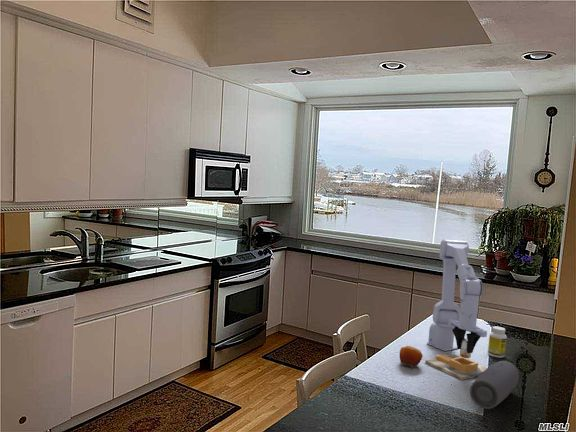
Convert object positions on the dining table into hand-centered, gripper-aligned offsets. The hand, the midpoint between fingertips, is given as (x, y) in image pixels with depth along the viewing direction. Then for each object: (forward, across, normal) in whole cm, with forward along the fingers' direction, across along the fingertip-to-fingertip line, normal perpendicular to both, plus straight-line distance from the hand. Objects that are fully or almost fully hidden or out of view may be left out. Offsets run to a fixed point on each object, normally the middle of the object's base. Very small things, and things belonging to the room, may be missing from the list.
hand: (464, 350), depth 168 cm
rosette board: (+8, -3, +1) cm, 8 cm away
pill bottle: (+8, -5, +27) cm, 29 cm away
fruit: (+8, -12, -14) cm, 20 cm away
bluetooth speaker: (+8, +19, -10) cm, 23 cm away
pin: (+2, 0, 0) cm, 2 cm away
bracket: (+6, -4, 0) cm, 7 cm away
